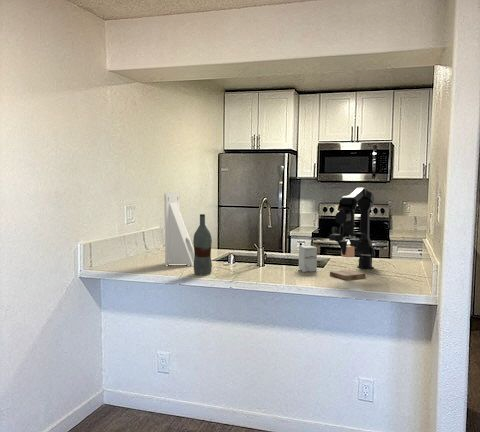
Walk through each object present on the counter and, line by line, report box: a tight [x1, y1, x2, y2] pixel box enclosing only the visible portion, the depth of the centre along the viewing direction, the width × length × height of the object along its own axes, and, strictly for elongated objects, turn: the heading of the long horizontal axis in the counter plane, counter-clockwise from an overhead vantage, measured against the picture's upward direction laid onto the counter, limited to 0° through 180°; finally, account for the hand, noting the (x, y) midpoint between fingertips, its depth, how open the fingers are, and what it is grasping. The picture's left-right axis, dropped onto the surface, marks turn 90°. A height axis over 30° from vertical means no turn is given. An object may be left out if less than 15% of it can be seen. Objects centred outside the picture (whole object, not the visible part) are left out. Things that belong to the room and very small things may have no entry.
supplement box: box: [298, 245, 318, 273], centre depth 242 cm, size 7×7×13 cm
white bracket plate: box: [163, 192, 195, 265], centre depth 259 cm, size 20×14×40 cm
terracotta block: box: [340, 244, 356, 258], centre depth 225 cm, size 4×4×5 cm
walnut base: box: [329, 269, 366, 281], centre depth 226 cm, size 12×12×2 cm
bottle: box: [192, 213, 213, 276], centre depth 233 cm, size 9×9×30 cm
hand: (347, 254), depth 225 cm, fingers closed on terracotta block, 4 cm apart
